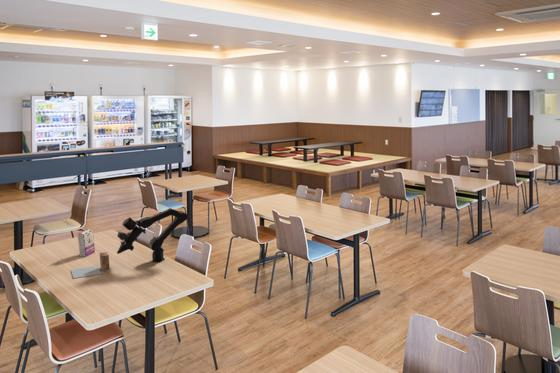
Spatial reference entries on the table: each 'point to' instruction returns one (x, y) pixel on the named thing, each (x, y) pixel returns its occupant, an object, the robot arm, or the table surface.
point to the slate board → (85, 272)
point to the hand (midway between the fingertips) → (117, 253)
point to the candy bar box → (86, 243)
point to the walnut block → (104, 261)
